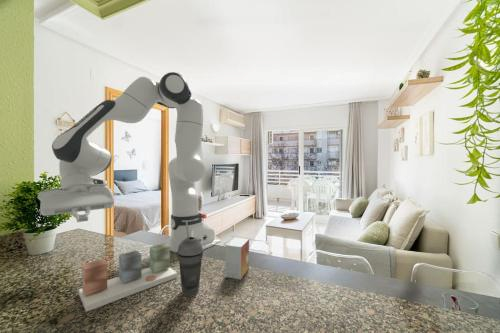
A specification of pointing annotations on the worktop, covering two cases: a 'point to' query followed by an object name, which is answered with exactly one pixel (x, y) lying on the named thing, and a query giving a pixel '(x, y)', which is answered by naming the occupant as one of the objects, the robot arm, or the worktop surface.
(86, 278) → the pink tall block
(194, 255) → the beverage cup
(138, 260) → the grey tall block
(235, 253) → the small box
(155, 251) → the sage green block
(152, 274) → the base
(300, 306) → the worktop surface
